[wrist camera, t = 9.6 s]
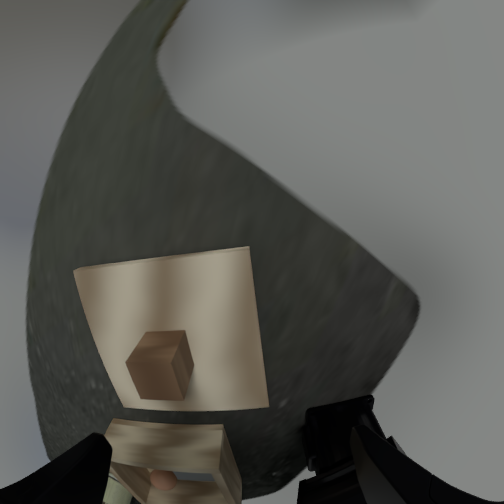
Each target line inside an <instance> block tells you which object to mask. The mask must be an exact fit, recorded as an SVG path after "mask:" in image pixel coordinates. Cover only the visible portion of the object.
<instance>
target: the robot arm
mask: <svg viewBox="0 0 504 504" xmlns="http://www.w3.org/2000/svg"><path fill="white" fill-rule="evenodd" d="M373 404H374V398H373V395H367V396H363V397H359V398H355V399H351V400H347V401H343V402H338V403H334V404H329V405H324V406H319V407H313V408H310V409H308V410H307V425H306V426H304V427H303V446H304V451H305V456H306V461H307V466H308V470H309V471H315V473H316V476H314V477H312V478H309V479H307V480H306V479H304V480H302V481H300V482H299V489H298V498H297V504H504V501H502V502H494V501H488V500H484V499H481V498H479V497H476V496H474V495H471V494H469V493H466V492H464V491H462V490H459V489H457V488H455V487H453V486H451V485H449V484H448V483H446V482H444V481H443V480H441V479H439V478H438V477H436V476H435V475H432V474H431V473H430V472H429V471H427V470H426V469H424V468H423V467H421V466H420V465H419V464H417V463H416V462H414V461H413V460H412V459H410V458H409V457H407V456H406V454H405V452H404V451H403V450H402V448H401V447H400V446H399V444H398V443H397V442H396V441H395V439H394V438H393V437H392V436H390V437H389V438H387V439H386V437H385V435H384V433H383V431H382V429H381V427H380V425H379V423H378V421H377V419H376V417H375V415H374V413H373V411H372V409H373ZM312 412H313V413H312ZM112 452H113V449H112V446H111V445H110V443H109V442H108V440H107V439H106V437H105V436H104V435H103V434H100V433H92V434H90V435H89V436H87V437H86V438H85V439H83V440H82V441H80V442H79V443H77V444H76V445H75V446H73V447H72V448H70V449H69V450H67V451H66V452H64V453H63V454H61V455H60V456H58V457H57V458H55V459H54V460H52V461H51V462H49V463H48V464H46V465H45V466H43V467H42V468H40V469H38V470H37V471H35V472H34V473H32V474H30V475H29V476H27V477H25V478H23V479H22V480H20V481H18V482H16V483H14V484H12V485H9V486H7V487H5V488H2V489H0V504H102V503H103V499H104V495H105V491H106V487H107V483H108V478H109V471H110V465H111V458H112Z"/></svg>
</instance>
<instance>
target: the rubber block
mask: <svg viewBox="0 0 504 504" xmlns="http://www.w3.org/2000/svg"><path fill="white" fill-rule="evenodd" d="M173 473H174V474H175V476H176V477H177V479H181V480H194V481H215V480H214V478H213V476H212V474H211V473H188V472H175V471H173Z"/></svg>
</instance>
